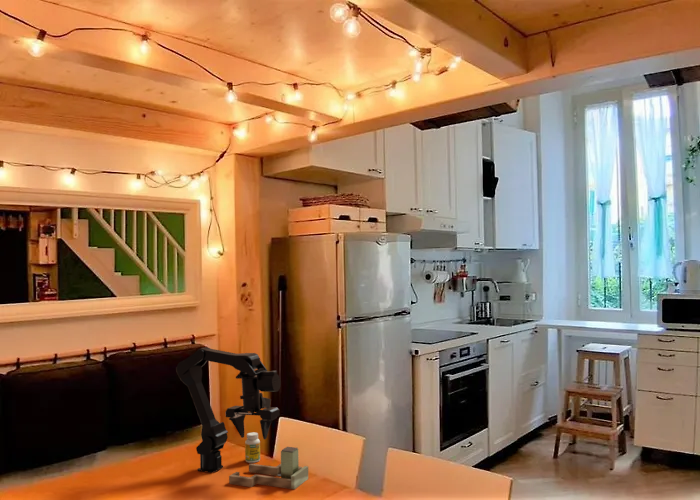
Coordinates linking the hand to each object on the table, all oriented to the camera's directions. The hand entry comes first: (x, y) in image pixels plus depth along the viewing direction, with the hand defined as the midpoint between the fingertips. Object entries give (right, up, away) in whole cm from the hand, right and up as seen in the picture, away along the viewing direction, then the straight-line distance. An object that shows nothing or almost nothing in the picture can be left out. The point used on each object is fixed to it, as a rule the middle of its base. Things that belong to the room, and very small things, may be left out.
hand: (253, 438), depth 195 cm
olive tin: (+13, -12, -7) cm, 19 cm away
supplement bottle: (-3, -13, +15) cm, 20 cm away
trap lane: (+7, -12, -5) cm, 15 cm away
